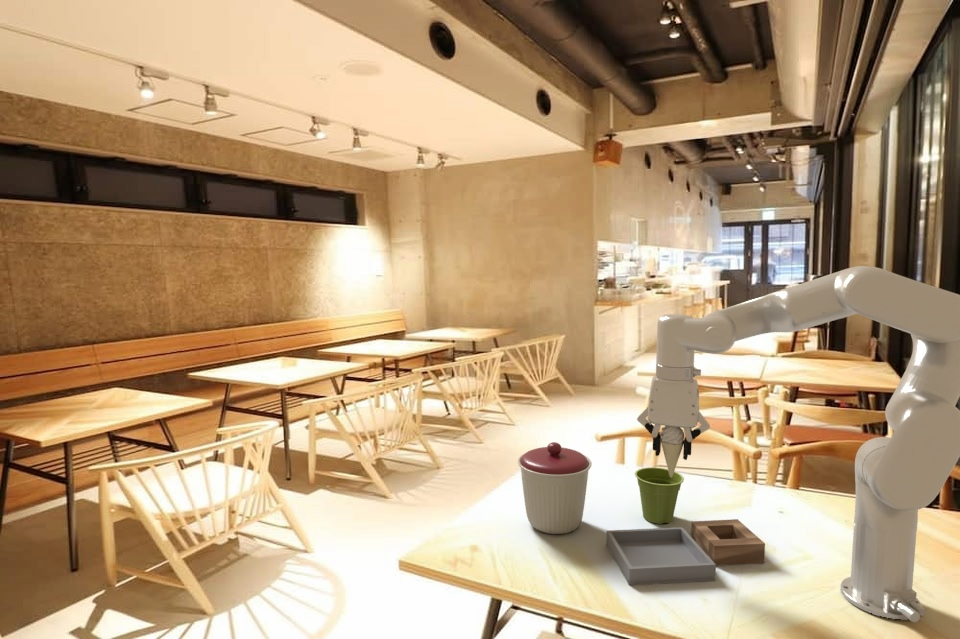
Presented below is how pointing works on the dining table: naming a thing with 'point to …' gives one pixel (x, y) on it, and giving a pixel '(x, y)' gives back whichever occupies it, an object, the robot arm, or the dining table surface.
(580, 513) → the canister
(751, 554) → the cone stand
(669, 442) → the ice cream cone
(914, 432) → the robot arm
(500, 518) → the dining table surface
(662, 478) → the plant pot
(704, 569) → the grey tray
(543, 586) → the dining table surface
